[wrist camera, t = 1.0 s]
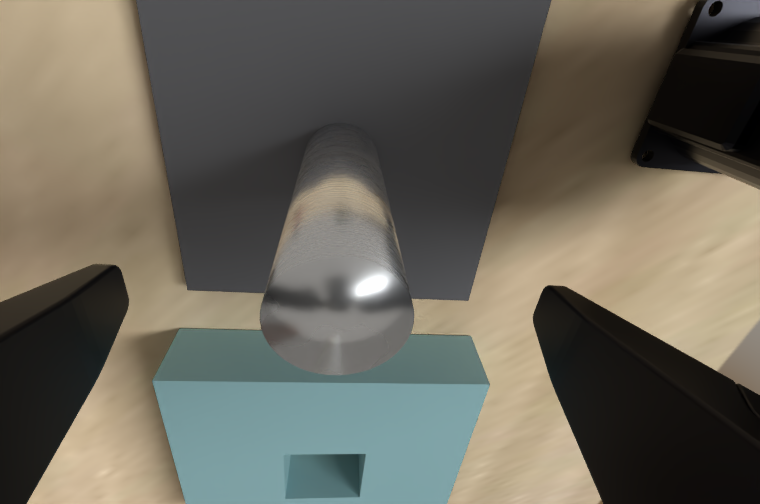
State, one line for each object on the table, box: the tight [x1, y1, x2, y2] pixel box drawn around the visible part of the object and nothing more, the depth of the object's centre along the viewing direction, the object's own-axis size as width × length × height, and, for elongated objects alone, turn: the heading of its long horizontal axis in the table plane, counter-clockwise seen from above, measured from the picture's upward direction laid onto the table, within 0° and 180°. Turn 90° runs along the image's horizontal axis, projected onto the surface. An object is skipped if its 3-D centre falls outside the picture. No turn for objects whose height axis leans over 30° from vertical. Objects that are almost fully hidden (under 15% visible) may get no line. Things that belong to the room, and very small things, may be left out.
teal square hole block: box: [152, 328, 490, 504], centre depth 24 cm, size 16×16×4 cm
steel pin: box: [260, 123, 414, 375], centre depth 12 cm, size 3×3×10 cm
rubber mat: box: [136, 0, 551, 301], centre depth 17 cm, size 14×14×1 cm
